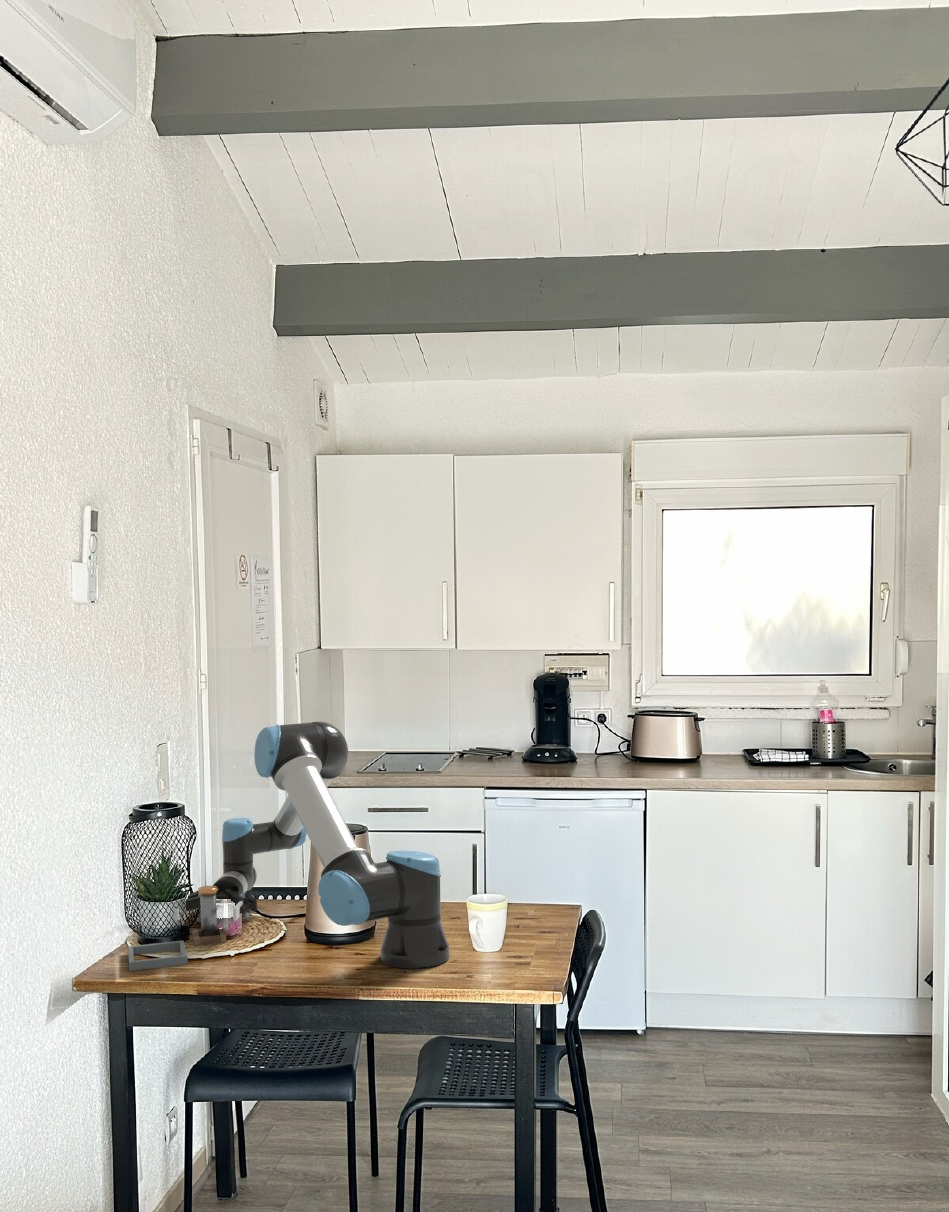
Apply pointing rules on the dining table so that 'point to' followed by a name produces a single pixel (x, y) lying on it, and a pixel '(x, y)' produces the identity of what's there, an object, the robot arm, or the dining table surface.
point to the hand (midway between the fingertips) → (205, 914)
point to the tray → (157, 961)
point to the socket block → (209, 938)
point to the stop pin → (208, 910)
